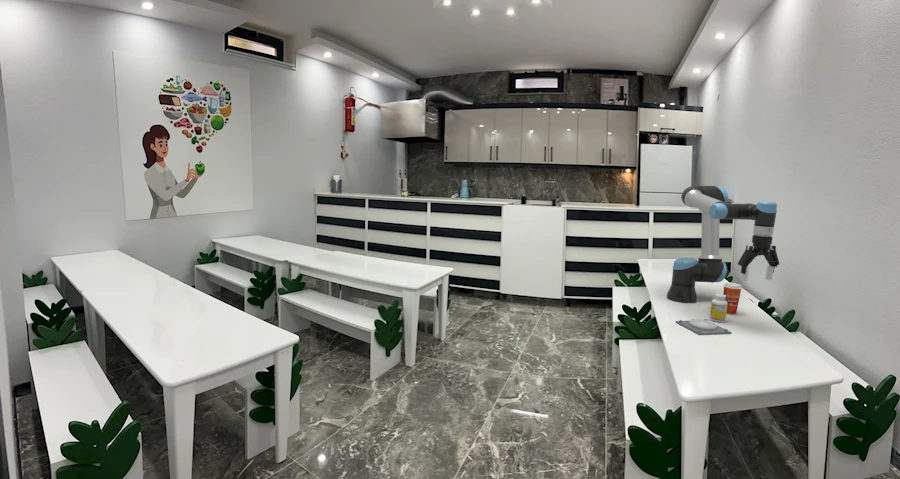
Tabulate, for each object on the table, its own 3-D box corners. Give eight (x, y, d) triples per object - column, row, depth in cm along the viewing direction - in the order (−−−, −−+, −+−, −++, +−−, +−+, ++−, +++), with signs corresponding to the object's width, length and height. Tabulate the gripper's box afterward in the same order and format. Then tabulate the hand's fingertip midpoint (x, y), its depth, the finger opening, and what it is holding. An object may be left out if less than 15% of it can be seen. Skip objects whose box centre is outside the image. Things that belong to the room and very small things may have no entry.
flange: (675, 322, 210) (676, 318, 210) (705, 321, 212) (706, 317, 212) (698, 335, 194) (699, 330, 194) (731, 333, 197) (731, 328, 196)
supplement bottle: (710, 317, 219) (713, 292, 217) (725, 320, 215) (729, 294, 213) (708, 320, 214) (711, 295, 211) (724, 323, 210) (728, 297, 208)
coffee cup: (721, 313, 225) (725, 285, 223) (718, 308, 233) (722, 281, 230) (740, 315, 222) (744, 287, 220) (737, 311, 230) (740, 283, 227)
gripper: (746, 236, 195) (739, 282, 199) (793, 236, 200) (786, 281, 204) (732, 234, 203) (726, 278, 206) (778, 233, 207) (771, 277, 211)
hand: (756, 280), depth 205 cm, fingers open, 13 cm apart
